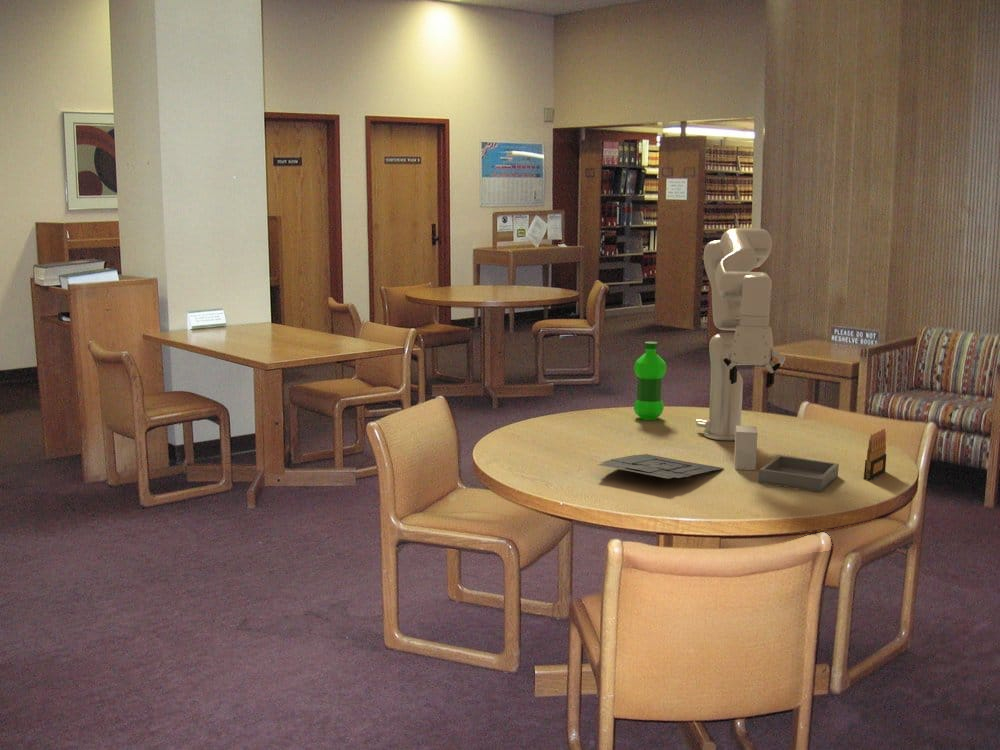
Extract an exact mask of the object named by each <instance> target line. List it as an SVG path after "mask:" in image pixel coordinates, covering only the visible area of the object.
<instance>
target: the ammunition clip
mask: <svg viewBox="0 0 1000 750" xmlns="http://www.w3.org/2000/svg"><path fill="white" fill-rule="evenodd" d="M886 441H887V433H886V429H885V428H883V429H881V430H878V431H876V432H875V433H873V434H871V435H870V436H869V439H868V447H867V451H866V459H865V461H864V473H863V480H866V479H868V480H867V481H872V480H874V479H876V478H878V477H879V476H881V475H882V474H884V473H886V468H887V467H886V465H887V453H886V452H887V443H886ZM875 477H876V478H875Z"/></svg>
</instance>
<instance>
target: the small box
mask: <svg viewBox="0 0 1000 750" xmlns="http://www.w3.org/2000/svg"><path fill="white" fill-rule="evenodd" d="M757 448H758V429H757V426H756V425H755V426H751V425H741V426H736V431H735V440H734V456H733V463H734V470H744V471H756V469H757V454H758V453H757V451H758V450H757Z"/></svg>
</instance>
